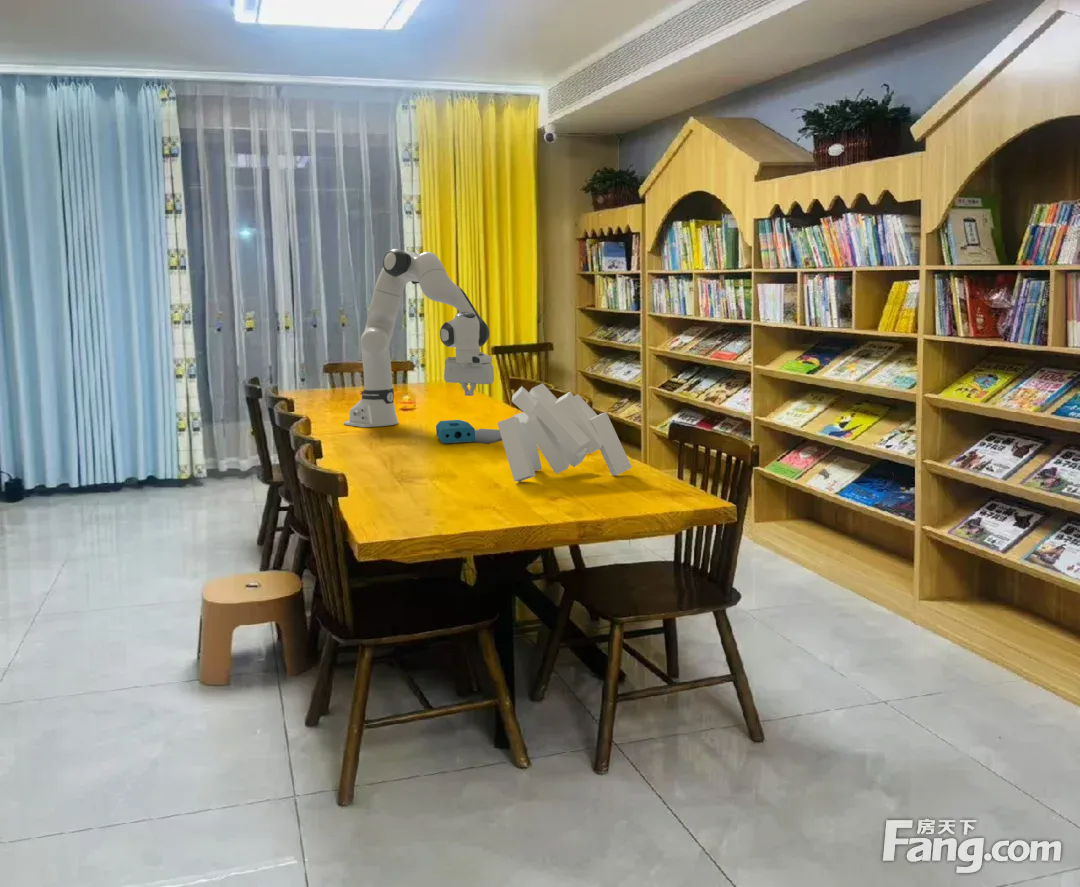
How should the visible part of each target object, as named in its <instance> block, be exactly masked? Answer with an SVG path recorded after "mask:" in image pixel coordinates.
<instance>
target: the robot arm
mask: <svg viewBox="0 0 1080 887" xmlns="http://www.w3.org/2000/svg"><path fill="white" fill-rule="evenodd" d="M382 265H383V267H382V269H381V270H380V273H379V274H378V278H377V280H376V283H375V286H374V289H373V294H372V297H371V302H370V305H369V308H368V313H367V318H366V323H365V328H364V331H363V332H362V334H361V336H360V350H361V351H360V353H361V361H362V363H361V364H362V372H363V386H364V389H363V390H362V391H360V392H359V395H361V399H360V400H359V401H358V402H357V403H356V404H355V405H354V406H352V407H351V408H350V410H349V419H348V420H346V421H343V425H346V426H352V427H361V428H372V427H386V426H387V427H388V426H394V425H397V424H399V420H398V417H397V413H396V408H395V403H394V402H395V401H394V400H395V391H394V388H393V376H392V374H393V373H392V362H391V361H392V360H391V351H390V344H391V340H392V337H393V334H394V329H395V325H396V322H397V317H398V314H399V309H400V305H401V301H402V299H403V298H402V297H403V293H404V289H405V286H406V285H407V284H408V283H410V282H411V284H413V285H415V284H416V285H417V284H419V287H420V290H421V291H422V293H423V295H424V296H426V298H428V299H429V300H431V301H434V302H437V303H442V304H446V305H449V306H452V307H453V308H455V309H456V310H457V311H458V312H457V313H456V314H455V316H454V317H453V319H451V320H449V321H446V322H444V323H443V324H441V325H442V326H441V327H440V330H439V338H440V341H441V343H442V344H443V345H444V346H445V347H447V348H455V356H449V357H448V356H447V358H445V360H444V372H443V373H444V374H443V375H444V376H443V379H444V381H445V382H446V383H452V384H453V383H454V384H457V383H458V384H461V387H462V389H463V391H464V396H471V397H473V396H474V395H475V389H476V388H477V385H490V384H491V385H492V384H493V383H494V380H495V372H494V367H493V366H494V365H493V364H492V362H493V357H492V356H491V355H488V354H486V353H484V352H481V350H480V349H481V347H482V346H484V345H485V344H486V343H487V341H488V340H489V339H490V329H489V326H488V324H487V323H486V322H485V320H483V319H482V317H481V316H480V314H479V313H478V311H477V310H476V308H475V307H474V305H473V303H472V302H471V300H470V298H469V297H468V295H467V294H466V293H465V290H463V288H461V287H459V286H458V285H457V284H456V283H455V282H453V280H452V279H451V278H450V276H449V275H448V274H447V271H446V268H445V267H444V265H443V263H442V261H441V260H440V259H439V257H438V256H437V255H436V254H435V253H433V252H431V251H424V252H422V253H418V252H414V251H408V250H403V249H401V248H392V249H389V250H388V251H387V252H386V253H385V254H384V257H383V261H382ZM468 386H469V387H470V388H469V387H468Z"/></svg>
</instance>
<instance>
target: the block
mask: <svg viewBox="0 0 1080 887" xmlns="http://www.w3.org/2000/svg"><path fill="white" fill-rule="evenodd" d="M475 430H476V429H475V427H474V426H473V425H471V424H470V423H469V422H468V421H465V420H462V419H450V420H449V419H448V420H439V422H438V423H437V424H436V425H435V431H436V437H437V438H438V439H439V440H440V442H441V443H442V444H451V443H452V444H453V443H455V444H456V443H471V442H470V441H474V440H475Z"/></svg>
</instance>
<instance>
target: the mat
mask: <svg viewBox="0 0 1080 887" xmlns="http://www.w3.org/2000/svg"><path fill="white" fill-rule="evenodd" d="M500 441H502V437H501V434H500V430H499V429H495V428H493V429H492V428H479V429H475V440H474V441H470V442H469V443H475V444H485V445H486V444H488V445H490V444H492V443H497V442H500Z"/></svg>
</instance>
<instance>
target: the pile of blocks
mask: <svg viewBox="0 0 1080 887" xmlns="http://www.w3.org/2000/svg"><path fill="white" fill-rule="evenodd" d="M511 402H512V403H513V404H514V405H515V406H517V407H518V409H520V411H521V413H517V414H514V415H513V416H512V417H509V418H506V419H503V420H500V421H497V427H498V430H500V434H501V437H502V440H501V441H502V444H503V447H504V451H505V455H506V458H507V462H508V464H509V468H510V472H511V475H512V477H513V479H512V480H513V481H514V482H523V481H526V480H528V479H531V478H534V477H536V472H537V471H541V470H542V469H543V468H542V463H541V459H540V454H539V451H541V453H542V455H543V457H544V459H545V460H546V462H547V463H548V464H549V466H550V468H551V470H553V472H554V473H555V475H558V474H559V473H562V472H563V471H565V470H567V469H569V466H571V467H572V468H575V467H577V466H578V465H580V464H581V463H583V461H584V460H585V458H586V456H587V454H588V455H590V454H593V453H595V452H596V451H598V450H599V451H600V453H601V455H602V457H603V460H604V461H605V464H606V465H607V467H608V471H609V472H610V474H611V476H612V477H613V476H618V475H620V474H623V473H624V472H626V471H628V470H630V469H632V467H633V466H632V464H631V462H630V460H629V457H628V456H627V454H626V452H625V449H624V447H623V445H622V443H621V441H620V439H619V437H618V434H617V432H616V430H615V427H614V426H613V423H612V422H611V419H610V417H609V415H608V413H607V412H601V413H599V414H597V413H596V412H595V411H594V409H593V408H592V407H591V406H590V405H589V404H588V403H587V402H586V401H585V400H584V399H583V397H581V395H580V394H576V395H573V393H572V392H571V391H569V392H567V393H565V394H563V395H562V396H560V397H559V398H557V397H556V396H555V394H553V393H552V391H551V390H550V389H549V388H547V386H546V384H544V383H540V384H537V385H536V386H534V387H532V388H531V389H530V390H529V391H528V390H527V389H526V388H524V387H523V386H520V387H519V388H518V390H516V391H515V392H514V394H512V397H511Z"/></svg>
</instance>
